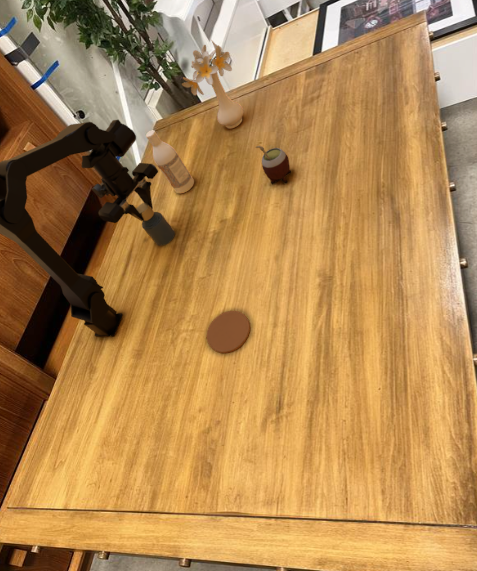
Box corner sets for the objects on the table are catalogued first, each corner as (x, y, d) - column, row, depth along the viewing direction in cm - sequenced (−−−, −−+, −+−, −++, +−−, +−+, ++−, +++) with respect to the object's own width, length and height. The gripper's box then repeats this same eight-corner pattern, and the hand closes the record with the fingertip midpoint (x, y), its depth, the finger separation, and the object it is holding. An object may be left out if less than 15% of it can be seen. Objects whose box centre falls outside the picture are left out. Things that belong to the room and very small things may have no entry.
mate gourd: (286, 165, 109) (268, 118, 98) (299, 178, 104) (282, 130, 93) (263, 179, 109) (243, 134, 98) (275, 193, 104) (255, 147, 93)
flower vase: (207, 143, 133) (169, 73, 115) (230, 108, 141) (198, 38, 122) (238, 141, 126) (203, 66, 108) (261, 105, 133) (232, 29, 115)
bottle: (171, 244, 109) (149, 217, 101) (152, 246, 112) (130, 220, 104) (177, 227, 113) (156, 200, 105) (159, 230, 116) (138, 203, 107)
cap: (152, 219, 104) (146, 212, 102) (139, 222, 105) (133, 215, 103) (155, 208, 106) (149, 201, 104) (143, 211, 108) (137, 204, 106)
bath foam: (173, 186, 126) (137, 134, 111) (192, 175, 126) (158, 121, 111) (177, 197, 122) (141, 145, 107) (197, 186, 121) (162, 131, 106)
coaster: (245, 353, 79) (244, 352, 79) (203, 352, 84) (201, 351, 83) (253, 311, 85) (252, 309, 84) (213, 312, 89) (212, 311, 89)
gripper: (114, 143, 102) (147, 188, 114) (68, 194, 96) (108, 236, 107) (141, 144, 96) (173, 191, 107) (94, 199, 89) (134, 242, 101)
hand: (147, 214), depth 106 cm, fingers closed on cap, 4 cm apart
